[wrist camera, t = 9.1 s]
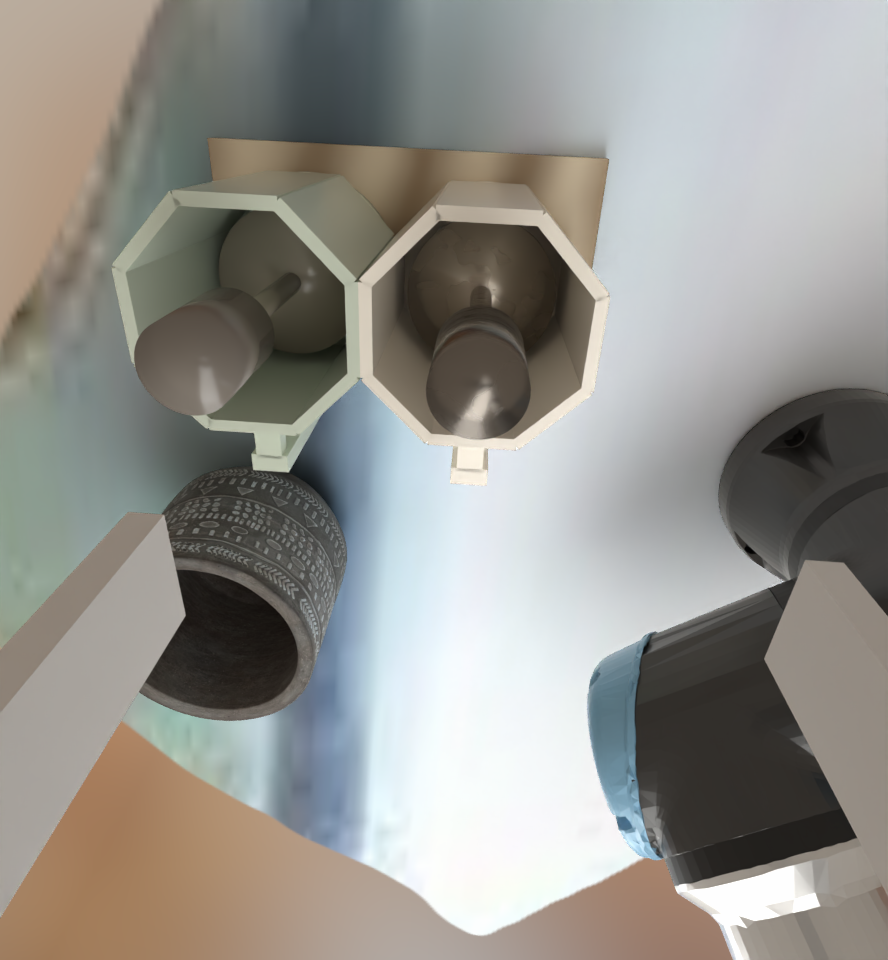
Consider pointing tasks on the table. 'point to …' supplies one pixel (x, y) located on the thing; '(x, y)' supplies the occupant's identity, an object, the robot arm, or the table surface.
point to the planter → (247, 593)
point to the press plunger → (480, 322)
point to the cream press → (551, 360)
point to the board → (431, 177)
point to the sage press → (251, 302)
